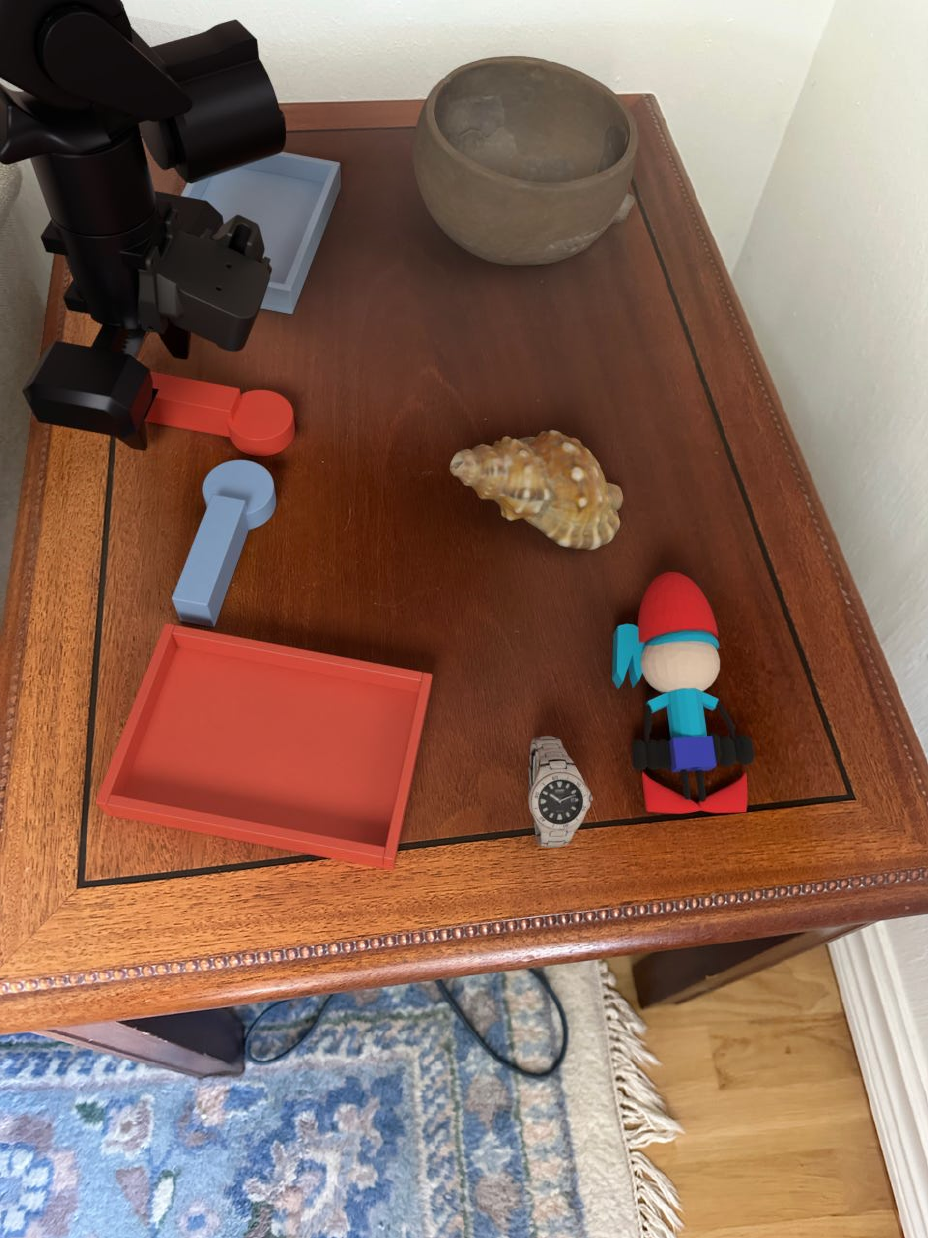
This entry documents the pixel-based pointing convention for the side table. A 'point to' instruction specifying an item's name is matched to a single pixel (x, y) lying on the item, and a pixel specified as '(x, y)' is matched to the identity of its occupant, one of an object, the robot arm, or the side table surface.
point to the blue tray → (278, 213)
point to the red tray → (270, 746)
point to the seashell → (545, 487)
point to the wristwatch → (555, 793)
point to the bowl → (524, 159)
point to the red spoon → (224, 413)
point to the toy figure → (680, 695)
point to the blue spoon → (222, 537)
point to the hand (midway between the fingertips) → (161, 401)
